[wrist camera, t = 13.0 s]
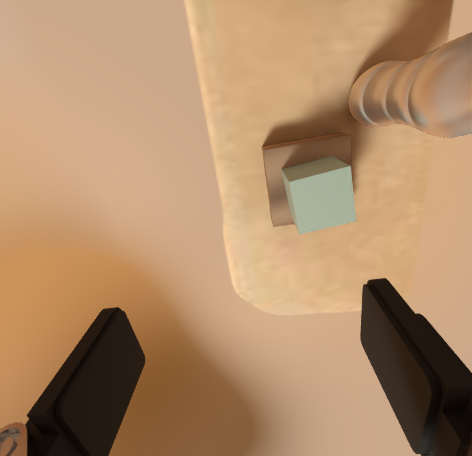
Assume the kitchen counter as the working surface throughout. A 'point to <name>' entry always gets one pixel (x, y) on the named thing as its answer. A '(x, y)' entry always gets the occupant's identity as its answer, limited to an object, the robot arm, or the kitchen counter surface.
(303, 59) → the kitchen counter surface
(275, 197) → the walnut block
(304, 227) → the sage cube
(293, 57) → the kitchen counter surface
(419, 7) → the kitchen counter surface
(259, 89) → the kitchen counter surface
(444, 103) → the plastic bottle
